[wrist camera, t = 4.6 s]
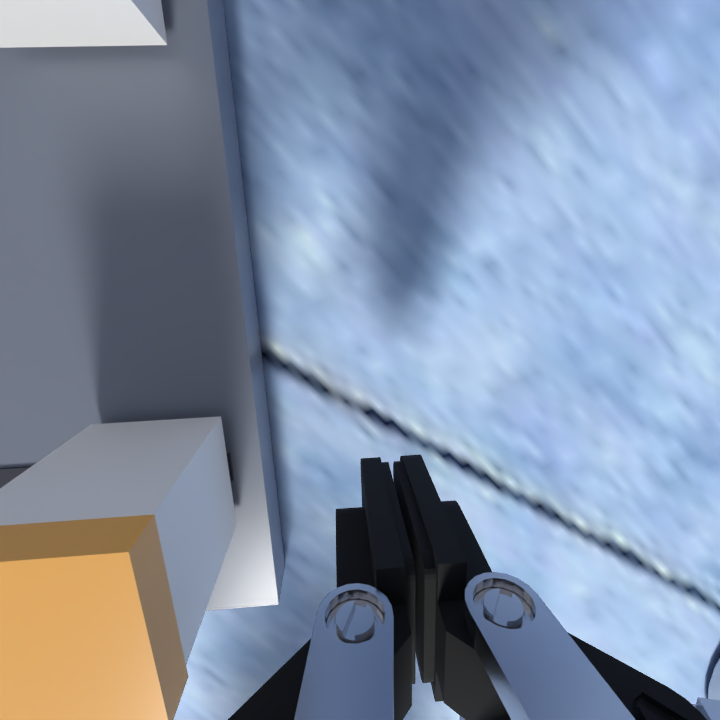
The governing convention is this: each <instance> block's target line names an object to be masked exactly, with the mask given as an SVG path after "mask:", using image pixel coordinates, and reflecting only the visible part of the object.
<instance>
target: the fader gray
mask: <svg viewBox="0 0 720 720" xmlns="http://www.w3.org/2000/svg"><path fill="white" fill-rule="evenodd" d="M142 45H167V38H166V31H165V25H164V18H163V11H162V4H161V0H0V48H15V47H78V46H142Z"/></svg>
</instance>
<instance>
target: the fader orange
mask: <svg viewBox="0 0 720 720" xmlns="http://www.w3.org/2000/svg"><path fill="white" fill-rule="evenodd" d="M236 525H237V523H236V516H235V509H234V502H233V495H232V488H231V482H230V475H229V468H228V461H227V454H226V447H225V440H224V433H223V426H222V419H221V416H219V417H203V418H186V419H170V420H154V421H137V422H121V423H105V424H91V425H89V426H88V427H86V428H85V429H84V430H82V431H81V432H79V433H78V434H76V435H75V436H74V437H72V438H71V439H69V440H68V441H67V442H65V443H64V444H62V445H61V446H60V447H58V448H57V449H55V450H54V451H52V452H51V453H50V454H48V455H47V456H45V457H44V458H43V459H41V460H40V461H38V462H37V463H36V464H34V465H33V466H31V467H30V468H28V469H27V470H26V471H24V472H23V473H21V474H20V475H19V476H17V477H16V478H14V479H13V480H12V481H10V482H9V483H7V484H6V485H4V486H3V487H2V488H0V720H173V719H174V716H175V713H176V711H177V708H178V705H179V702H180V699H181V696H182V693H183V690H184V687H185V684H186V681H187V679H188V673H187V668H186V664H187V661H188V658H189V655H190V652H191V650H192V647H193V644H194V641H195V639H196V636H197V633H198V630H199V627H200V625H201V622H202V619H203V616H204V614H205V611H206V608H207V605H208V602H209V600H210V597H211V594H212V591H213V589H214V586H215V583H216V580H217V577H218V575H219V572H220V569H221V566H222V563H223V561H224V558H225V555H226V552H227V550H228V547H229V544H230V541H231V538H232V536H233V533H234V530H235V527H236Z"/></svg>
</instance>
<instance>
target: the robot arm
mask: <svg viewBox="0 0 720 720" xmlns="http://www.w3.org/2000/svg"><path fill="white" fill-rule="evenodd" d="M393 476H394V482H393V478H392V475H391V471H390V467H389V463H388V462H382V463H381V459H380V457H378V458H363V459H361V484H362V507H359V508H345V509H336V567H337V588H336V589H335V590H333V591H332V592H330V593H329V594H327V596H326V597H325V598H324V599H323V601H322V602H321V603H320V606H319V609H318V611H317V614H316V619H315V624H314V628H313V633H312V638H311V639H310V640H309V641H308V642H307V643H306V644H305V645H304V646H303V647H302V648H301V649H300V650H299V651H298V652H297V653H296V654H295V655H294V656H293V657H292V658H291V659H290V660H289V661H288V662H286V663H285V664H284V665H283V666H282V667H281V668H280V669H279V670H278V671H277V672H276V673H275V674H274V675H273V676H272V677H271V678H270V679H269V680H268V681H267V682H266V683H265V684H264V685H263V686H262V687H261V688H260V689H259V690H258V691H257V692H256V693H255V694H254V695H253V696H252V697H251V698H250V699H249V700H248V701H247V702H246V703H245V704H244V705H242V706H241V707H240V708H239V709H238V710H237V711H236V712H235V713H234V714H233V715H232V716H231V717H230V718H229V719H228V720H403V718H404V717H405V715H406V714H407V712H408V710H409V709H410V707H411V706H412V684H415V652H416V657H417V661H418V666H419V671H420V676H421V680H422V682H423V683H428V682H431V685H432V690H433V694H434V698H435V702H436V701H444V703H445V704H446V705H448V706H449V707H450V708H451V709H453V710H454V711H455V712H456V713H458V714H459V715H460V720H720V658H719V660H718V662H717V663H716V665H715V667H714V670H713V673H712V676H711V679H710V683H709V689H708V699H706V698H699V697H698V698H697V702H696V705H695V704H691V703H690V702H689V701H687V700H686V699H685V698H684V697H682V696H681V695H679V694H678V693H676V692H675V691H673V690H671V689H670V688H668V687H667V686H665V685H663V684H661V683H659V682H657V681H656V680H654V679H652V678H650V677H648V676H646V675H645V674H643V673H641V672H639V671H637V670H635V669H634V668H632V667H630V666H628V665H626V664H624V663H623V662H621V661H619V660H617V659H615V658H613V657H612V656H610V655H608V654H606V653H604V652H602V651H601V650H599V649H597V648H595V647H593V646H591V645H590V644H588V643H586V642H584V641H582V640H580V639H579V638H577V637H575V636H573V635H571V634H569V633H568V632H567V631H566V630H565V629H564V628H563V626H562V625H561V624H560V622H559V621H558V620H557V619H556V617H555V616H554V615H553V614H552V612H551V611H550V610H549V608H548V607H547V606H546V605H545V603H544V602H543V601H542V599H541V598H540V597H539V596H538V594H537V593H536V592H535V591H534V590H533V589H532V588H531V587H530V586H529V585H527V584H526V583H524V582H523V581H521V580H520V579H518V578H516V577H513V576H511V575H508V574H504V573H498V572H492V571H491V569H490V567H489V565H488V563H487V561H486V559H485V557H484V555H483V553H482V551H481V549H480V547H479V544H478V542H477V540H476V538H475V536H474V534H473V532H472V530H471V528H470V526H469V524H468V522H467V520H466V518H465V516H464V514H463V512H462V510H461V508H460V506H459V504H458V503H457V502H456V501H442V502H441V501H440V498H439V496H438V494H437V491H436V489H435V487H434V484H433V482H432V480H431V477H430V475H429V473H428V470H427V468H426V466H425V463H424V461H423V459H422V456H421V455H409V456H401V457H400V461H397V462H394V464H393Z"/></svg>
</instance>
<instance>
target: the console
mask: <svg viewBox="0 0 720 720" xmlns="http://www.w3.org/2000/svg"><path fill="white" fill-rule="evenodd" d="M161 4H162V11H163V18H164V25H165V31H166V38H167V45H142V46H78V47H15V48H0V488H2V487H3V486H4V485H6V484H7V483H9V482H10V481H12V480H13V479H14V478H16V477H17V476H19V475H20V474H21V473H23V472H24V471H26V470H27V469H28V468H30V467H31V466H33V465H34V464H36V463H37V462H38V461H40V460H41V459H43V458H44V457H45V456H47V455H48V454H50V453H51V452H52V451H54V450H55V449H57V448H58V447H60V446H61V445H62V444H64V443H65V442H67V441H68V440H69V439H71V438H72V437H74V436H75V435H76V434H78V433H79V432H81V431H82V430H84V429H85V428H86V427H88V426H89V425H91V424H105V423H121V422H137V421H154V420H170V419H186V418H203V417H219V416H221V419H222V426H223V433H224V440H225V447H226V454H227V461H228V468H229V475H230V482H231V488H232V495H233V502H234V509H235V516H236V523H237V525H236V527H235V530H234V533H233V536H232V538H231V541H230V544H229V547H228V550H227V552H226V555H225V558H224V561H223V563H222V566H221V569H220V572H219V575H218V577H217V580H216V583H215V586H214V589H213V591H212V594H211V597H210V600H209V602H208V605H207V608H206V611H210V610H221V609H233V608H245V607H257V606H269V605H279V599H280V593H281V587H282V580H283V574H284V568H285V560H284V551H283V542H282V533H281V524H280V515H279V506H278V497H277V488H276V479H275V469H274V460H273V451H272V442H271V433H270V424H269V415H268V406H267V397H266V387H265V378H264V369H263V360H262V351H261V342H260V333H259V324H258V315H257V305H256V296H255V287H254V278H253V269H252V260H251V251H250V242H249V233H248V224H247V214H246V205H245V196H244V187H243V178H242V169H241V160H240V151H239V142H238V132H237V123H236V114H235V105H234V96H233V87H232V78H231V69H230V60H229V50H228V41H227V32H226V23H225V14H224V5H223V0H161Z"/></svg>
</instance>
